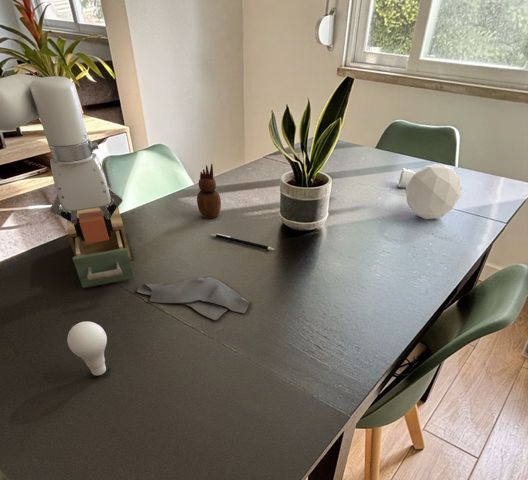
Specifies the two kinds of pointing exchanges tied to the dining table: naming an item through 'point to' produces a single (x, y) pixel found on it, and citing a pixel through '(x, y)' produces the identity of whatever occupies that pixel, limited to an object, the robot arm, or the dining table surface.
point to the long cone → (405, 177)
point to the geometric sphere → (433, 191)
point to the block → (93, 226)
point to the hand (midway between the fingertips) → (96, 235)
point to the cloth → (197, 296)
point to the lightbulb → (89, 345)
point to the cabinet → (116, 225)
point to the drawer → (102, 261)
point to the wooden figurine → (208, 195)
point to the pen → (242, 241)
